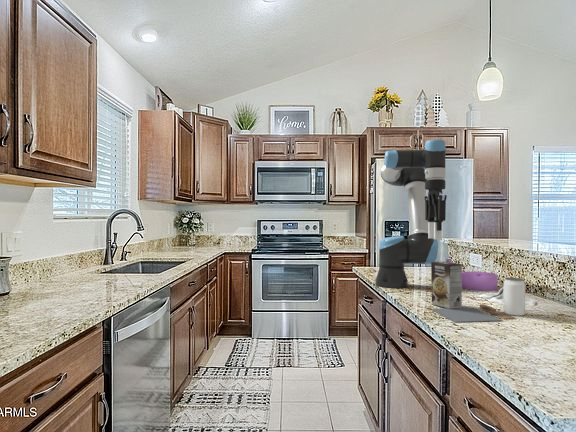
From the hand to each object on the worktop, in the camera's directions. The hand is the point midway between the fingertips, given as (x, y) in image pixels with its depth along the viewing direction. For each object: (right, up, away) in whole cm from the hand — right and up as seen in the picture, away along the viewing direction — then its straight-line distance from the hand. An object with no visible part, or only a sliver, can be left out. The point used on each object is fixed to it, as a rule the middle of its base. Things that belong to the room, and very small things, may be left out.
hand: (434, 238), depth 150 cm
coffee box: (+1, -25, -9) cm, 26 cm away
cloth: (+30, -25, +3) cm, 39 cm away
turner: (+14, -25, -18) cm, 34 cm away
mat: (+2, -25, -21) cm, 32 cm away
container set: (+26, -25, +28) cm, 46 cm away
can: (+20, -25, -19) cm, 37 cm away
